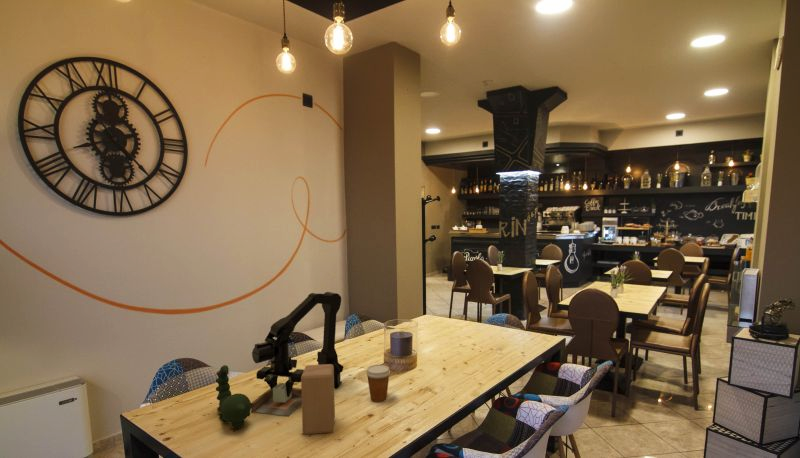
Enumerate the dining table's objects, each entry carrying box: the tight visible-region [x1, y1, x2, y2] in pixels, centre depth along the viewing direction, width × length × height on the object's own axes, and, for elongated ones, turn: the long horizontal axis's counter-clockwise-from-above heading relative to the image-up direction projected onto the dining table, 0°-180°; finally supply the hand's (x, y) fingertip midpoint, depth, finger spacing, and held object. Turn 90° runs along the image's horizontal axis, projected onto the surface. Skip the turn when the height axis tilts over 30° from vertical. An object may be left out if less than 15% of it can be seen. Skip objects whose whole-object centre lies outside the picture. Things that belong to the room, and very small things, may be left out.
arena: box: [250, 387, 302, 417], centre depth 153 cm, size 15×15×4 cm
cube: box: [273, 382, 292, 402], centre depth 153 cm, size 5×5×5 cm
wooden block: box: [300, 364, 336, 435], centre depth 136 cm, size 10×10×20 cm
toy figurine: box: [215, 365, 252, 430], centre depth 141 cm, size 9×19×25 cm
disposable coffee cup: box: [365, 364, 391, 403], centre depth 156 cm, size 10×10×12 cm
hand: (282, 396), depth 153 cm, fingers closed on cube, 5 cm apart
